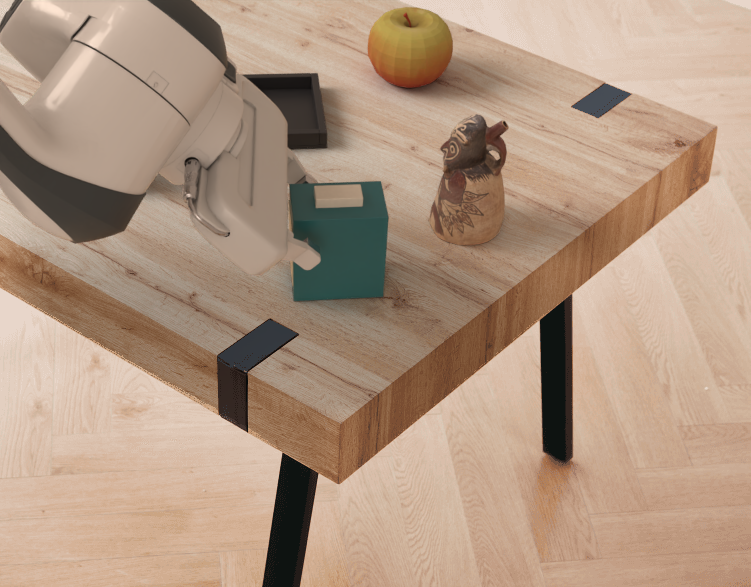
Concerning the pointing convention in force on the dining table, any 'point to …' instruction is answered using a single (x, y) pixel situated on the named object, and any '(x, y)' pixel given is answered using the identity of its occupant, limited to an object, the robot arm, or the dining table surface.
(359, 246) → the tissue box
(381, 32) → the apple
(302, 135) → the tray
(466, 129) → the figurine
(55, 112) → the robot arm
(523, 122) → the dining table surface
